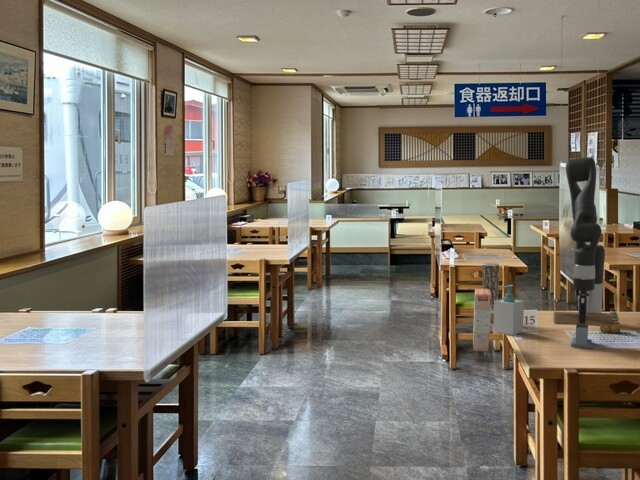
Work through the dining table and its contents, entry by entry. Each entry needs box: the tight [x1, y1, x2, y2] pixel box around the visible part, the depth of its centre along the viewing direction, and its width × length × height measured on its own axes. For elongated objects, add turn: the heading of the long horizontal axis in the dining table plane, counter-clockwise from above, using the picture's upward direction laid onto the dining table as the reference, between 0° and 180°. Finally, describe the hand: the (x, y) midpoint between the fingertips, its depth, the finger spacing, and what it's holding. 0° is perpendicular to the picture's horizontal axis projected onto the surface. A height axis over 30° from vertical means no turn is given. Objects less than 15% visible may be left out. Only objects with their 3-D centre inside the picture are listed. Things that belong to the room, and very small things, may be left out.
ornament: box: [599, 307, 621, 334], centre depth 286 cm, size 8×6×10 cm
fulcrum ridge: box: [570, 325, 593, 349], centre depth 266 cm, size 10×7×7 cm
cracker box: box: [472, 288, 491, 353], centre depth 260 cm, size 14×6×21 cm, turn 168°
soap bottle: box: [493, 284, 525, 336], centre depth 285 cm, size 9×9×19 cm
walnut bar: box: [553, 310, 612, 327], centre depth 265 cm, size 4×20×4 cm, turn 79°
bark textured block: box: [481, 262, 500, 323], centre depth 305 cm, size 7×7×25 cm
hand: (582, 321), depth 265 cm, fingers closed on walnut bar, 4 cm apart
